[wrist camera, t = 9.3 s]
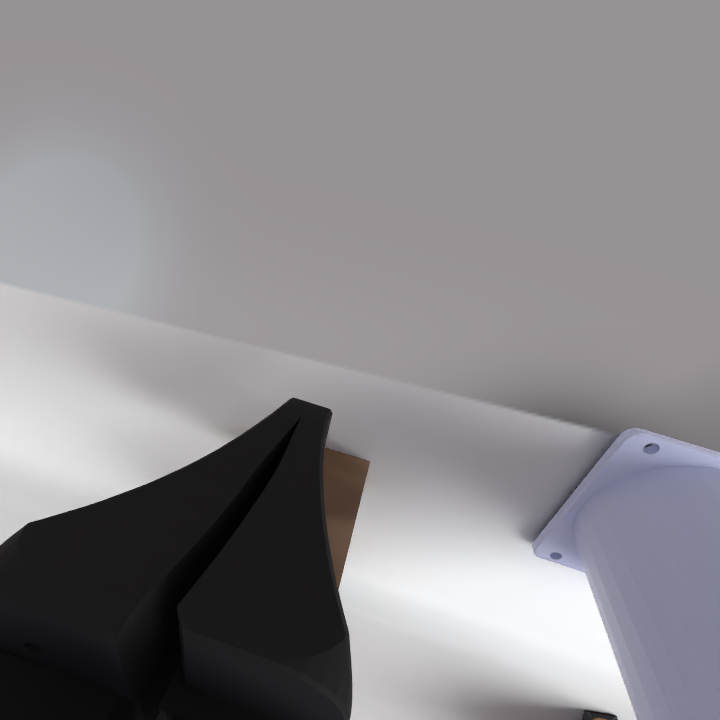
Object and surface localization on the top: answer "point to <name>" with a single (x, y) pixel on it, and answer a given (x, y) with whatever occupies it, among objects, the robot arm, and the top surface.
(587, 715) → the ammunition clip
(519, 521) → the top surface
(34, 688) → the robot arm
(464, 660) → the top surface
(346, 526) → the walnut domino
